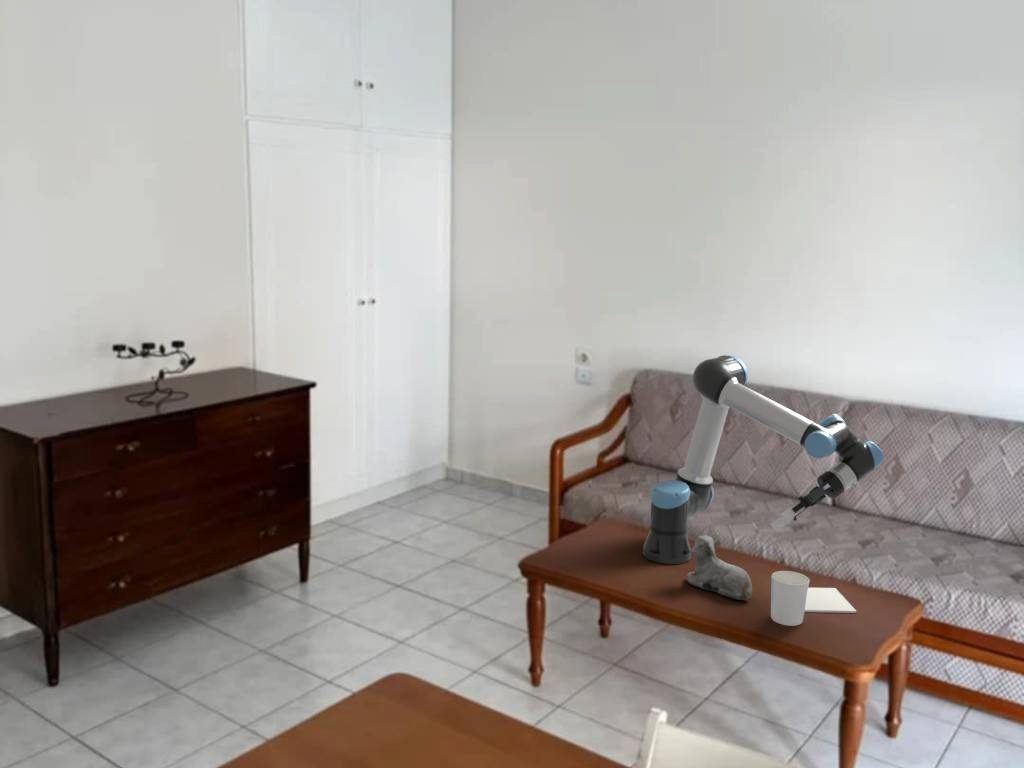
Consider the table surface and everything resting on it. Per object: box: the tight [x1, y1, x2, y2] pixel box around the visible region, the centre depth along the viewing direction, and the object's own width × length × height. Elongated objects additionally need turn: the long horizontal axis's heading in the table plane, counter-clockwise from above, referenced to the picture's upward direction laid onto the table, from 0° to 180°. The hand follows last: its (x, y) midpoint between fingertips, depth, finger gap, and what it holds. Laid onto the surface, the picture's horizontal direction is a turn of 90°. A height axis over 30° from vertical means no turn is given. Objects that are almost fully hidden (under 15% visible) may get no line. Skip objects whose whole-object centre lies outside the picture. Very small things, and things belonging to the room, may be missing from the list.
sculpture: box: [686, 535, 753, 601], centre depth 270 cm, size 11×21×15 cm, turn 60°
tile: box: [804, 587, 857, 614], centre depth 266 cm, size 16×16×1 cm
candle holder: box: [770, 570, 811, 627], centre depth 252 cm, size 10×10×12 cm
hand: (778, 523), depth 266 cm, fingers open, 13 cm apart
